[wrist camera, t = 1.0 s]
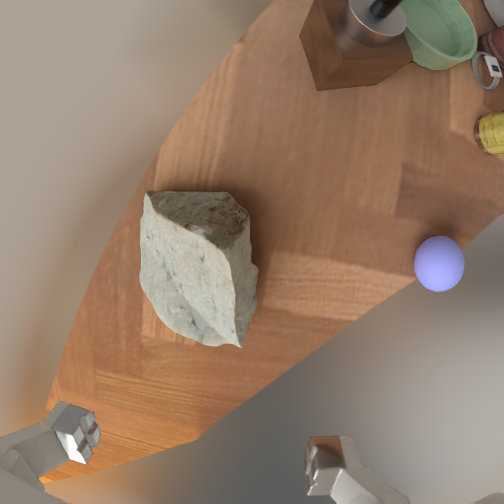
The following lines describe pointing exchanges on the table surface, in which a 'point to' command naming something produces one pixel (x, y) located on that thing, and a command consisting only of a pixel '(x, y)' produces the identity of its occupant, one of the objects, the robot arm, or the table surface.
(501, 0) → the planter
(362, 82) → the brown square base block
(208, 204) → the rock
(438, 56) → the bowl
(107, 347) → the table surface
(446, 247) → the sphere
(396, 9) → the black rod on disc
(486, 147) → the sauce bottle
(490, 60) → the wristwatch
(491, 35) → the can
